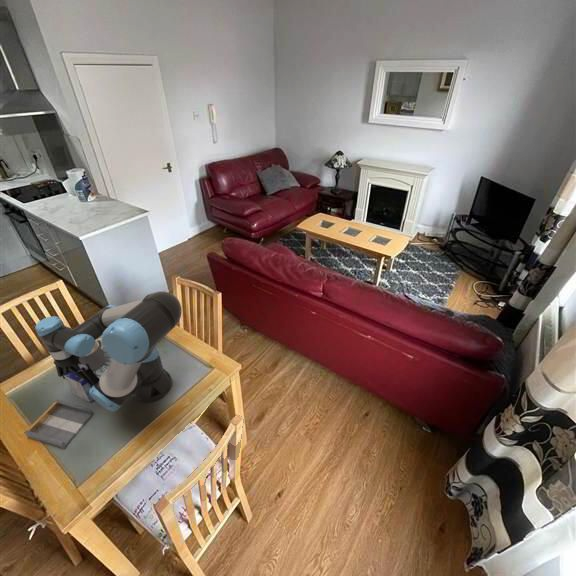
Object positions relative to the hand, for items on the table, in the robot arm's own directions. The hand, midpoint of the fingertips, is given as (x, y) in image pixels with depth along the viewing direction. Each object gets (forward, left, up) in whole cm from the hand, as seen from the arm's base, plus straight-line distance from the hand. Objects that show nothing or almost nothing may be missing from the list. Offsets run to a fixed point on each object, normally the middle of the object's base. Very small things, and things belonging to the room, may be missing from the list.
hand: (86, 390), depth 125 cm
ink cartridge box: (0, 0, -3) cm, 3 cm away
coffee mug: (+10, -16, -3) cm, 19 cm away
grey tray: (-1, +14, -2) cm, 14 cm away
